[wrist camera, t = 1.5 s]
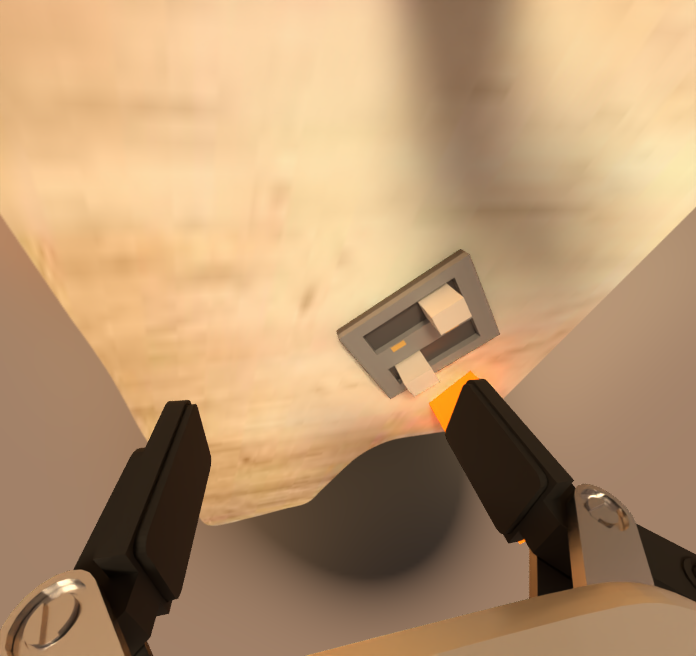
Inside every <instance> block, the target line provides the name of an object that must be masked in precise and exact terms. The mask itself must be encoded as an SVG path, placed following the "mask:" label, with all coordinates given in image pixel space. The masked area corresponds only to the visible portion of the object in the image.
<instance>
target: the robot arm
mask: <svg viewBox="0 0 696 656" xmlns="http://www.w3.org/2000/svg"><path fill="white" fill-rule="evenodd" d="M445 436H446V439H447V441H448V443H449V445H450V447H451V448H452V450H453V452H454V454H455V455H456V457H457V459H458V461H459V463H460V464H461V466H462V468H463V470H464V472H465V473H466V475H467V477H468V479H469V480H470V482H471V484H472V486H473V488H474V489H475V491H476V493H477V495H478V497H479V499H480V500H481V502H482V504H483V506H484V507H485V509H486V511H487V513H488V515H489V516H490V518H491V520H492V522H493V524H494V525H495V527H496V529H497V530H498V531H499V532H500V533H501V534H503V535H504V537H505V538H506V540H507V542H508V543H513V542H518V541H523V539H524V540H525V542H526V543H527V545H528V547H529V599H526V600H522V601H518V602H514V603H510V604H506V605H502V606H498V607H494V608H490V609H486V610H482V611H478V612H474V613H470V614H466V615H462V616H458V617H454V618H450V619H446V620H442V621H438V622H435V623H430V624H427V625H423V626H419V627H415V628H411V629H407V630H403V631H399V632H395V633H391V634H387V635H384V636H379V637H376V638H372V639H368V640H364V641H360V642H356V643H352V644H349V645H345V646H341V647H337V648H334V649H329V650H325V651H322V652H318V653H315V654H310V655H307V656H696V554H694V553H692V552H690V551H688V550H686V549H684V548H682V547H680V546H678V545H676V544H675V543H673V542H670V541H669V540H667V539H665V538H663V537H661V536H659V535H657V534H655V533H653V532H651V531H649V530H647V529H645V528H643V527H642V526H640V525H638V524H636V523H635V520H634V518H633V516H632V515H631V513H630V512H629V510H628V509H627V508H626V507H625V506H624V505H623V504H622V503H621V502H620V501H619V500H618V499H617V498H616V497H614V496H613V495H612V494H610V493H609V492H607V491H605V490H603V489H602V488H600V487H597V486H594V485H590V484H581V485H578V486H577V487H576V488H575V487H574V486H573V484H572V482H573V481H574V480H573V479H572V478H571V476H570V475H569V474H568V473H567V472H566V471H565V470H564V468H563V467H562V466H561V465H560V464H559V463H558V462H557V460H556V459H555V458H554V457H553V456H552V455H551V454H550V452H549V451H548V450H547V449H546V448H545V447H544V446H543V444H542V443H541V442H540V441H539V440H538V439H537V438H536V436H535V435H534V434H533V433H532V432H531V431H530V430H529V428H528V427H527V426H526V425H525V424H524V423H523V422H522V420H521V419H520V418H519V417H518V416H517V415H516V413H515V412H514V411H513V410H512V409H511V408H510V407H509V405H508V404H507V403H506V402H505V401H504V400H503V399H502V397H501V396H500V395H499V394H498V393H497V392H496V391H495V389H494V388H493V387H492V386H491V385H490V384H489V383H488V382H487V381H486V380H485V379H475V380H468V381H467V382H466V384H464V385H463V386H462V389H461V392H460V394H459V397H458V399H457V402H456V404H455V407H454V410H453V412H452V415H451V417H450V420H449V422H448V425H447V428H446V431H445ZM210 467H211V455H210V451H209V447H208V444H207V440H206V436H205V433H204V429H203V425H202V422H201V418H200V414H199V411H198V407H197V405H196V404H192V405H191V402H190V401H189V400H182V401H169V402H167V403H166V405H165V407H164V409H163V411H162V413H161V415H160V418H159V420H158V422H157V424H156V426H155V428H154V430H153V432H152V435H151V437H150V439H149V441H148V443H147V445H146V447H145V448H139V449H137V450H136V451H134V452H133V454H132V455H131V457H130V459H129V461H128V463H127V465H126V467H125V468H124V470H123V473H122V475H121V476H120V478H119V481H118V482H117V484H116V486H115V488H114V490H113V492H112V495H111V496H110V498H109V500H108V502H107V504H106V506H105V508H104V510H103V512H102V514H101V516H100V518H99V520H98V522H97V524H96V526H95V528H94V530H93V532H92V534H91V536H90V538H89V540H88V542H87V544H86V546H85V548H84V550H83V552H82V554H81V556H80V558H79V560H78V562H77V564H76V566H75V568H74V570H69V571H66V572H64V573H61V574H58V575H55V576H54V577H52V578H50V579H49V580H47V581H45V582H44V583H42V584H41V585H39V586H38V587H37V588H36V589H34V590H33V591H32V592H31V593H29V594H28V595H27V596H26V597H25V598H24V599H23V600H22V601H21V602H20V603H19V605H18V606H17V607H16V608H15V609H14V610H13V611H12V612H11V614H10V615H9V617H8V618H7V620H6V621H5V623H4V624H3V626H2V627H1V629H0V656H153V654H152V651H151V649H150V647H149V644H148V642H147V640H148V639H149V638H150V636H151V633H152V629H153V626H154V622H155V618H156V616H160V615H165V614H169V611H170V607H171V603H172V600H174V599H178V597H179V596H180V593H181V590H182V586H183V582H184V578H185V574H186V569H187V565H188V561H189V557H190V552H191V548H192V544H193V539H194V535H195V531H196V527H197V523H198V518H199V514H200V510H201V506H202V501H203V497H204V493H205V489H206V484H207V480H208V476H209V472H210Z"/></svg>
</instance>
